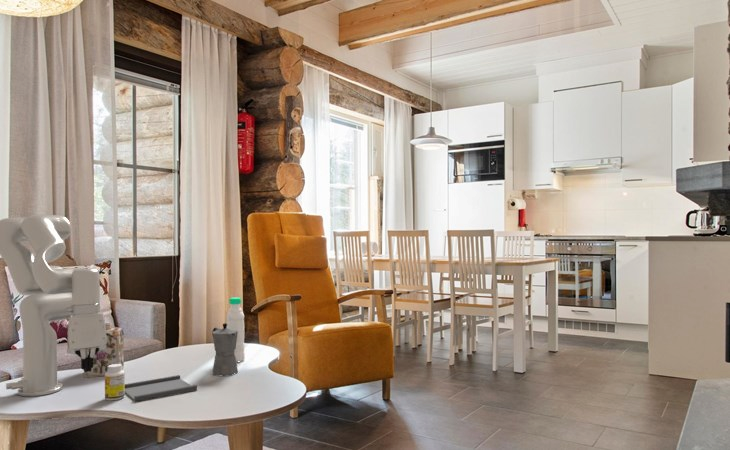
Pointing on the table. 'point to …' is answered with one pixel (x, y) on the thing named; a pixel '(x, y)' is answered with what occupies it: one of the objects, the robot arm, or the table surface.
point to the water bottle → (237, 326)
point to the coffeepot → (224, 350)
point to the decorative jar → (108, 352)
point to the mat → (158, 388)
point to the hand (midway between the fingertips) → (87, 370)
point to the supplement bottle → (114, 382)
